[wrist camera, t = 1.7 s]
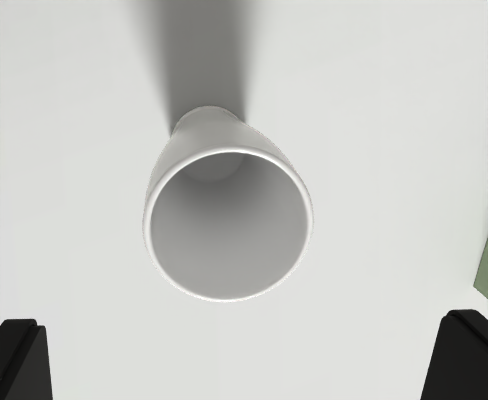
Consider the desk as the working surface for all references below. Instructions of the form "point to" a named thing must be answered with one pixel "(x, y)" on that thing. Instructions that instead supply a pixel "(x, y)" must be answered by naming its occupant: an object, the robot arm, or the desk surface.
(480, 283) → the green box with frame
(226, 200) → the drinking glass
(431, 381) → the robot arm
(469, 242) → the desk surface
